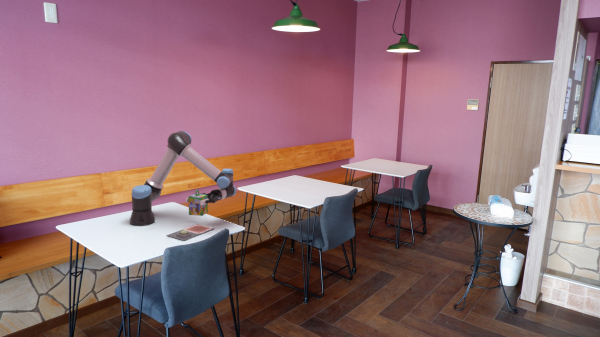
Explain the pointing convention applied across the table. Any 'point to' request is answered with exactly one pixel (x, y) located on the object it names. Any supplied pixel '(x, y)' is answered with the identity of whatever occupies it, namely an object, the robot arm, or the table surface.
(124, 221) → the table surface
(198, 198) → the chalk box
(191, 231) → the slate board
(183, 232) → the button
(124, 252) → the table surface
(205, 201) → the robot arm
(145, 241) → the table surface
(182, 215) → the table surface
